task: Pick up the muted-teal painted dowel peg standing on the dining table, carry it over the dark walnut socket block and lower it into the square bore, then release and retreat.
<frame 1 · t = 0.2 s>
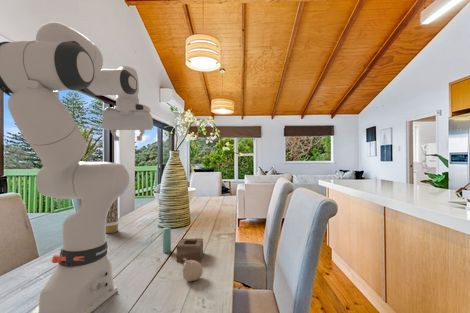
hand: (128, 140, 108), 47 cm above the table, fingers open, 8 cm apart
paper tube: (111, 232, 139), on the table
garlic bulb: (192, 280, 84), on the table
peg: (166, 251, 109), on the table
socket block: (190, 257, 103), on the table
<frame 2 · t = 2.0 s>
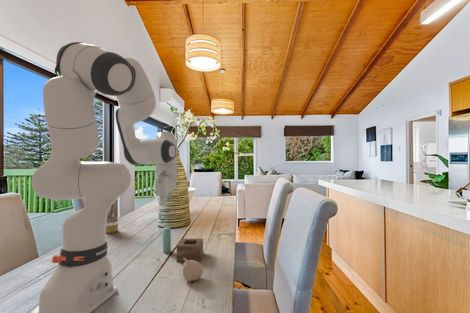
hand: (166, 203, 109), 21 cm above the table, fingers open, 8 cm apart
nothing on the table moved.
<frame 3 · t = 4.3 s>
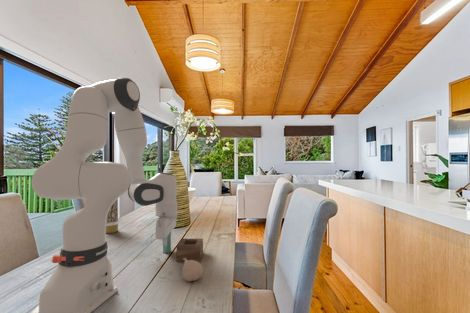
hand: (166, 243, 109), 4 cm above the table, fingers closed on peg, 3 cm apart
peg: (167, 251, 109), on the table, touching gripper
everything else where it was.
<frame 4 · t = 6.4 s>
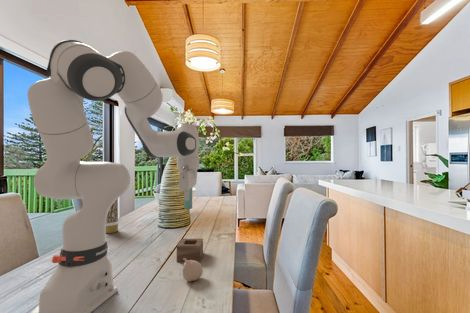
hand: (188, 199, 104), 23 cm above the table, fingers closed on peg, 3 cm apart
peg: (188, 208, 104), point 19 cm above the table, touching gripper
everything else where it was.
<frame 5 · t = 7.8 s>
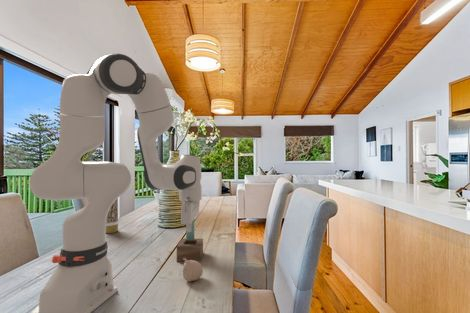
hand: (190, 229, 103), 11 cm above the table, fingers closed on peg, 3 cm apart
peg: (190, 239, 103), point 7 cm above the table, touching gripper
everything else where it was.
when the fingers open (7 cm above the table, at t = 8.8 s): peg drops 4 cm, resting in socket block.
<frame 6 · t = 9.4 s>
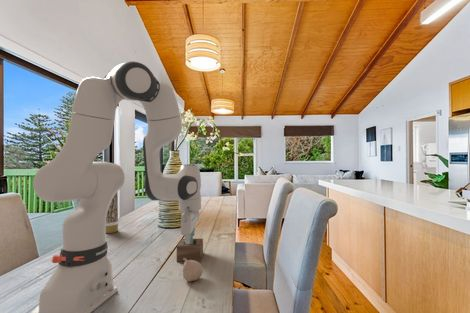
hand: (190, 239, 103), 7 cm above the table, fingers open, 8 cm apart
peg: (189, 257, 103), resting in socket block
everything else where it was.
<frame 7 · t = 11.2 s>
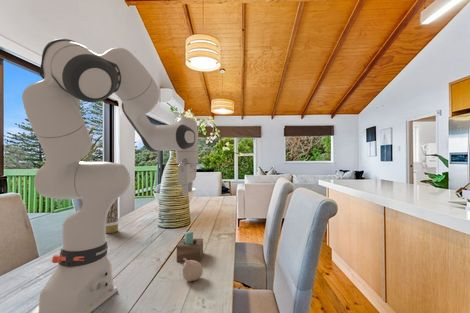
hand: (187, 193, 103), 26 cm above the table, fingers open, 8 cm apart
nothing on the table moved.
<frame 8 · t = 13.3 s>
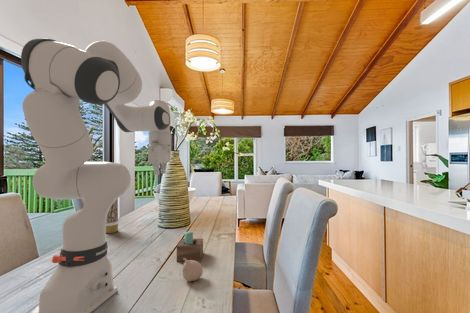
hand: (160, 174, 107), 33 cm above the table, fingers open, 8 cm apart
nothing on the table moved.
at the end: peg 0.6 cm off-centre on the socket block, point 0.0 cm above the socket block's base; peg tilted 0°; the gripper is holding nothing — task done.
